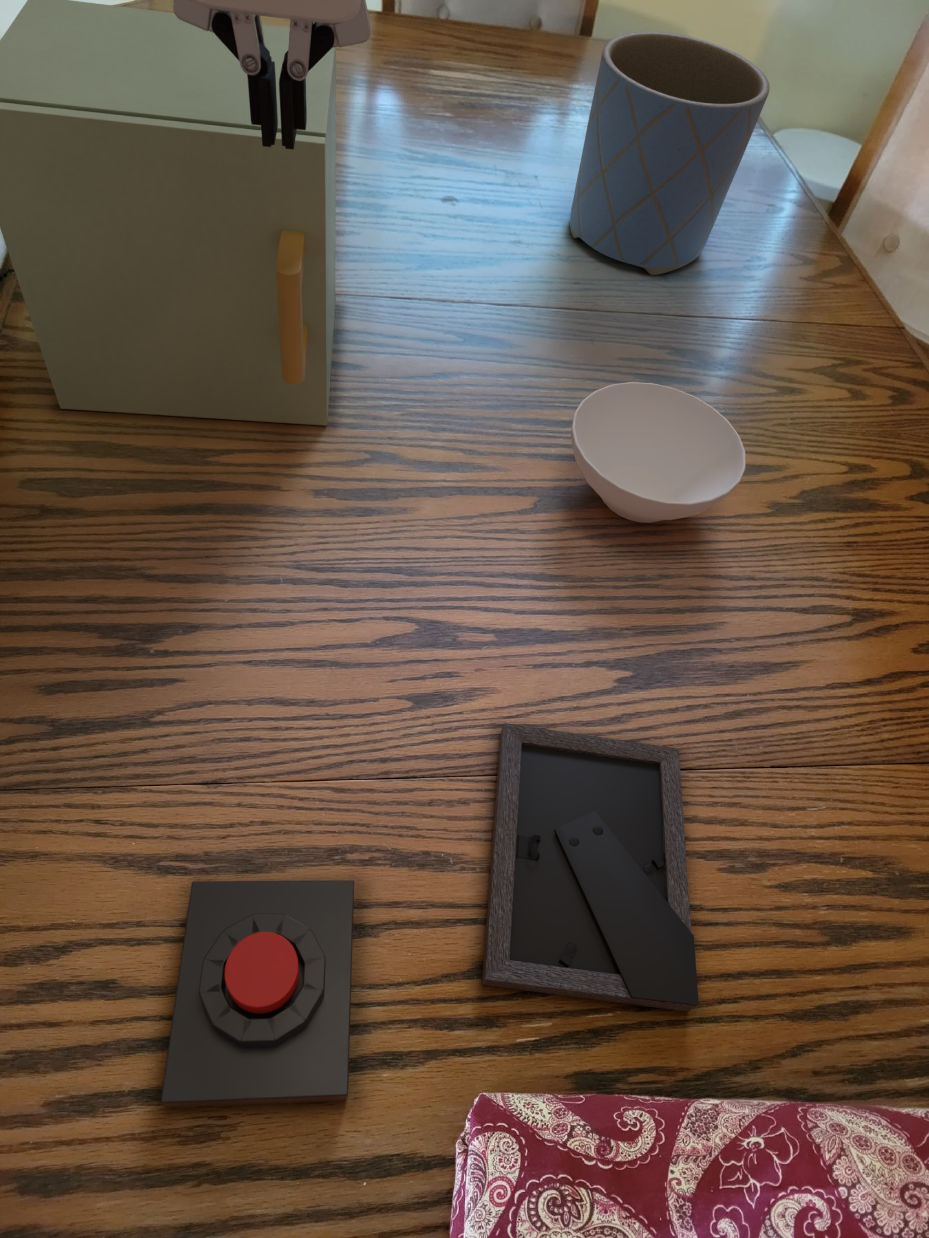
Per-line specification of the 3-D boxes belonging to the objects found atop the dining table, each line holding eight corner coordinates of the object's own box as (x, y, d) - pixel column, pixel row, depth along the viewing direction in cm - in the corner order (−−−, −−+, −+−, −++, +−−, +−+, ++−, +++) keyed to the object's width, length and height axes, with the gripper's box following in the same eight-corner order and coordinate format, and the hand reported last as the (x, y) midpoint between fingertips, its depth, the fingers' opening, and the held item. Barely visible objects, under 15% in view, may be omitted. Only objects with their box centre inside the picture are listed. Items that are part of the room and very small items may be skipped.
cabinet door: (324, 469, 77) (320, 185, 56) (44, 453, 74) (-70, 146, 53) (327, 419, 81) (325, 137, 60) (62, 401, 78) (-37, 97, 57)
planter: (728, 239, 112) (794, 74, 96) (667, 298, 101) (730, 124, 85) (605, 184, 116) (649, 18, 100) (536, 235, 106) (572, 59, 90)
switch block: (347, 1100, 48) (348, 1091, 45) (166, 1107, 46) (154, 1098, 43) (353, 890, 55) (354, 869, 52) (196, 892, 53) (187, 870, 50)
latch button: (296, 1013, 47) (295, 1006, 45) (223, 1014, 46) (220, 1008, 45) (301, 939, 49) (300, 930, 48) (231, 940, 49) (228, 931, 47)
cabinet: (327, 418, 81) (325, 133, 60) (63, 401, 78) (-37, 93, 57) (335, 309, 92) (336, 33, 70) (103, 289, 88) (30, -5, 67)
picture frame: (687, 1011, 53) (671, 757, 64) (698, 1004, 51) (680, 745, 62) (481, 984, 52) (500, 733, 63) (486, 977, 51) (504, 720, 61)
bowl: (743, 551, 78) (774, 498, 72) (581, 564, 74) (601, 510, 69) (684, 434, 87) (708, 379, 81) (537, 440, 83) (552, 383, 77)
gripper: (421, -267, 42) (399, 124, 56) (103, -321, 40) (166, 98, 54) (424, -235, 37) (399, 180, 52) (66, -294, 35) (146, 154, 50)
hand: (280, 137), depth 53 cm, fingers closed
